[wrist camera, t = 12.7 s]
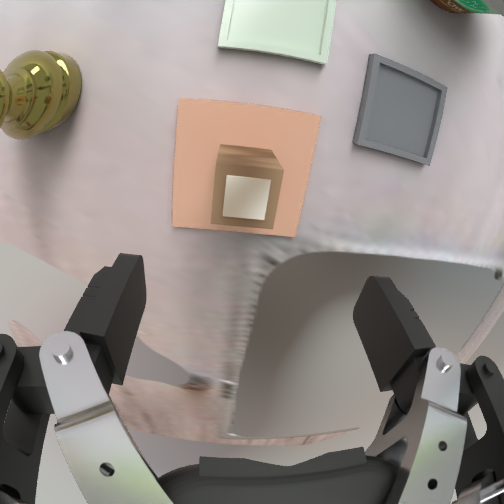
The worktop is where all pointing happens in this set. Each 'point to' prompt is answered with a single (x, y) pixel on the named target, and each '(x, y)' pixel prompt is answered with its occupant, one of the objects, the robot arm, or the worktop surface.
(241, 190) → the letter block
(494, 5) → the food container
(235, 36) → the sage dish
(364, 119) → the charcoal dish
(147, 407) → the worktop surface
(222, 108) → the terracotta pad
